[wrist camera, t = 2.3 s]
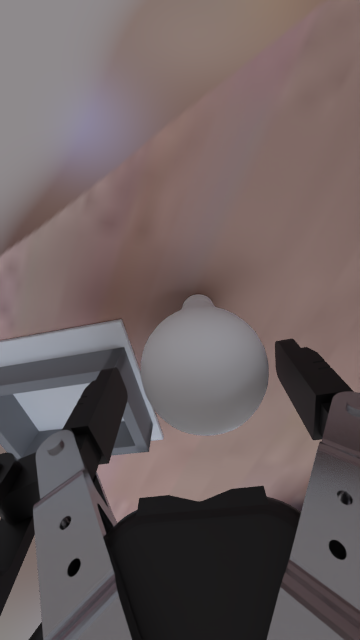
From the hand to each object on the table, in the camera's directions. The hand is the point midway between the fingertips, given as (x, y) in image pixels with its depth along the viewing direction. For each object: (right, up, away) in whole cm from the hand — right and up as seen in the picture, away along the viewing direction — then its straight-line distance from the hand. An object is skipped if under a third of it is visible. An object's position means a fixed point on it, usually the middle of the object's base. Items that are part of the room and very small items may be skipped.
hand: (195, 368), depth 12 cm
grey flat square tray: (-12, -5, +12) cm, 17 cm away
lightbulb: (+1, +4, +7) cm, 8 cm away
